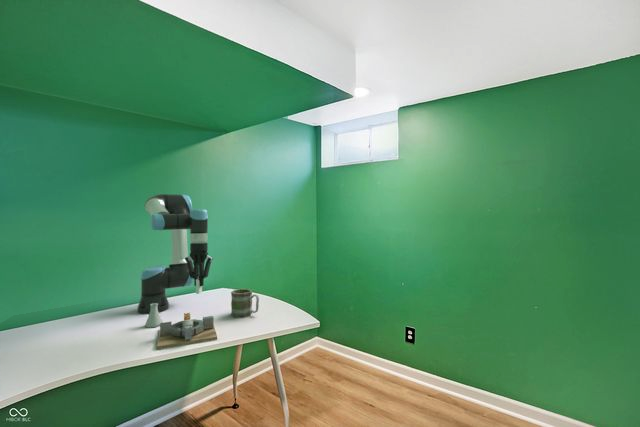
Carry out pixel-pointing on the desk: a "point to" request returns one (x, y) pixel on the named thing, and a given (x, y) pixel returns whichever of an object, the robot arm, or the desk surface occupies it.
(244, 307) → the mug
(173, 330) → the ring nut
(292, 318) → the desk surface
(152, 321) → the flask
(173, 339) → the board
